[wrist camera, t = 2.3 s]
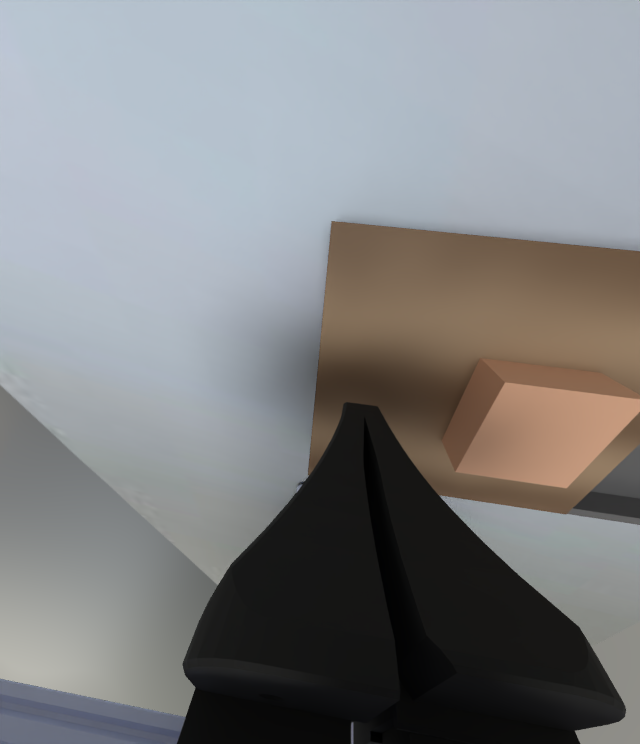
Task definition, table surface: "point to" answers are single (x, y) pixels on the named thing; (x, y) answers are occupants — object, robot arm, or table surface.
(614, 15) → the table surface
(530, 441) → the tile
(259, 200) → the table surface
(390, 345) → the platform
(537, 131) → the table surface
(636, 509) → the tray
